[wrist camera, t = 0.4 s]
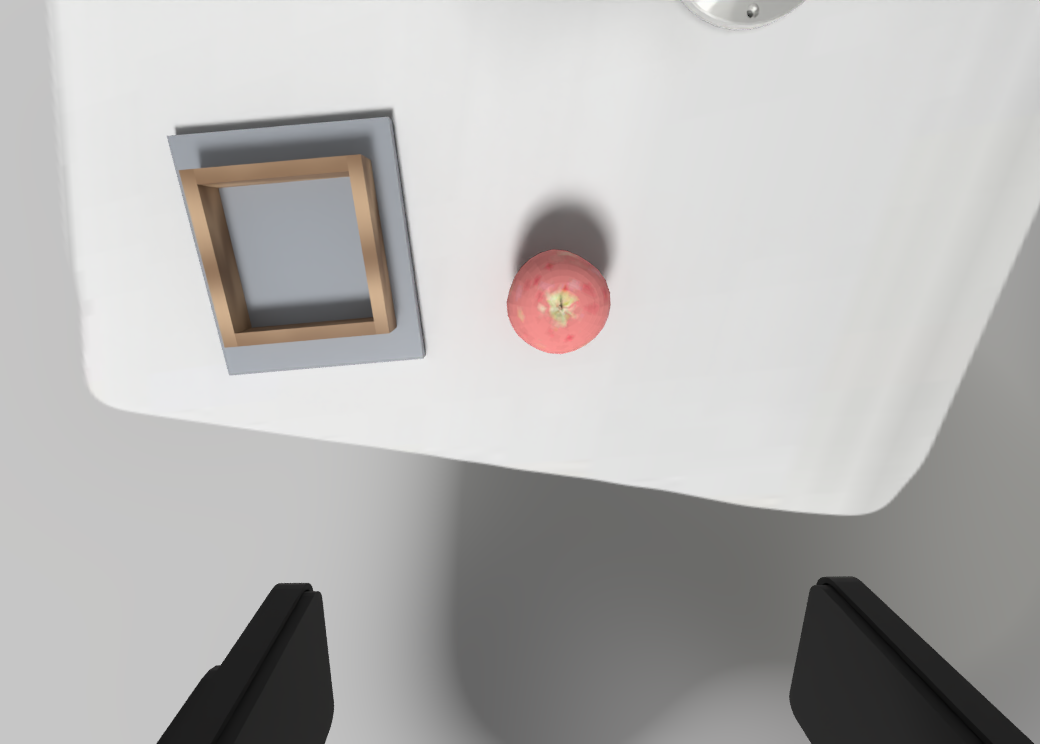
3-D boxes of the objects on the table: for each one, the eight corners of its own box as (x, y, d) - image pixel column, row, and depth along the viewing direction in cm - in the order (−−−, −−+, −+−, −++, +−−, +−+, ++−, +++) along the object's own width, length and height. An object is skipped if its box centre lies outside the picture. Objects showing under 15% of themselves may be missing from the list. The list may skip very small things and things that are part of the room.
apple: (489, 303, 39) (484, 319, 31) (546, 230, 38) (555, 228, 30) (558, 357, 40) (569, 386, 33) (615, 289, 39) (642, 302, 31)
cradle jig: (176, 138, 35) (141, 128, 32) (391, 119, 35) (379, 107, 32) (235, 372, 40) (210, 384, 37) (425, 355, 40) (417, 366, 37)
